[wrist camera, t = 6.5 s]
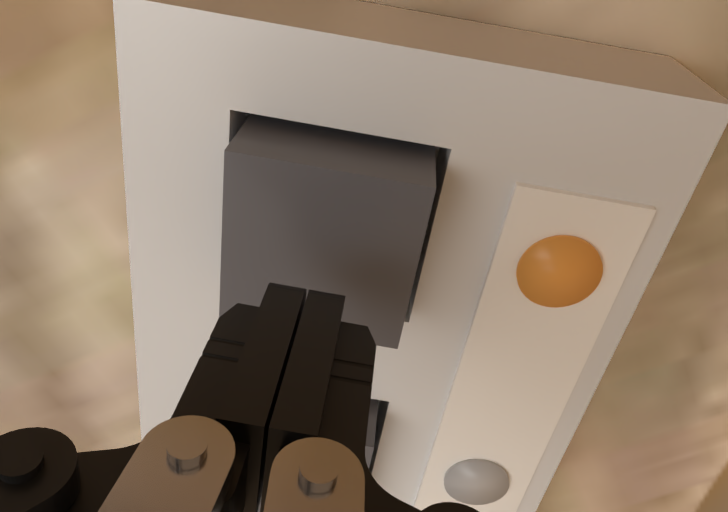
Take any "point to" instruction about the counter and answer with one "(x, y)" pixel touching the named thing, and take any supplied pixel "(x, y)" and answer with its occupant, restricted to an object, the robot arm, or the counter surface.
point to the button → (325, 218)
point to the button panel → (447, 217)
